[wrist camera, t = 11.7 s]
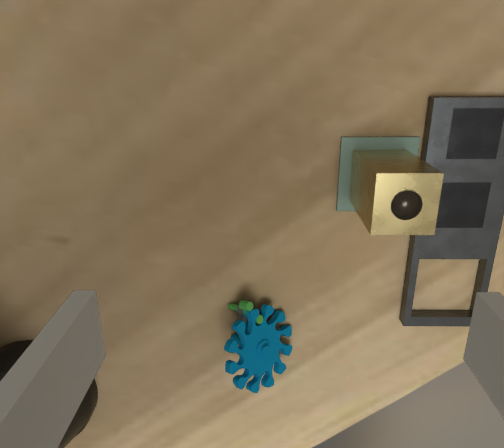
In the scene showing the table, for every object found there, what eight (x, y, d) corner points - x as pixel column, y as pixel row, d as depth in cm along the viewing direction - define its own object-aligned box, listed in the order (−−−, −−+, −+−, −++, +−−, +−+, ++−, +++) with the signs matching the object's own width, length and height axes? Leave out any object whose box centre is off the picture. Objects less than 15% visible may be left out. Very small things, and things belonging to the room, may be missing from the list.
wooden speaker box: (349, 199, 47) (371, 235, 38) (352, 149, 45) (377, 173, 36) (400, 199, 47) (435, 235, 38) (406, 149, 45) (444, 173, 36)
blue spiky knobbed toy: (302, 367, 54) (242, 412, 48) (269, 355, 58) (210, 394, 52) (286, 284, 51) (221, 320, 45) (253, 278, 56) (189, 310, 50)
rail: (399, 318, 53) (403, 326, 51) (428, 96, 44) (434, 97, 42) (474, 319, 53) (480, 326, 51) (519, 96, 43) (528, 97, 42)
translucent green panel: (336, 209, 48) (336, 210, 48) (341, 136, 45) (341, 137, 45) (409, 209, 48) (410, 211, 48) (418, 136, 45) (420, 137, 45)
